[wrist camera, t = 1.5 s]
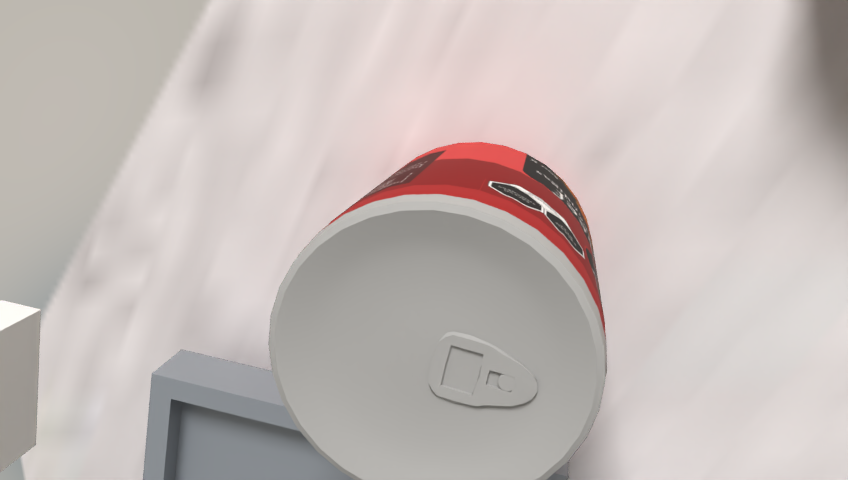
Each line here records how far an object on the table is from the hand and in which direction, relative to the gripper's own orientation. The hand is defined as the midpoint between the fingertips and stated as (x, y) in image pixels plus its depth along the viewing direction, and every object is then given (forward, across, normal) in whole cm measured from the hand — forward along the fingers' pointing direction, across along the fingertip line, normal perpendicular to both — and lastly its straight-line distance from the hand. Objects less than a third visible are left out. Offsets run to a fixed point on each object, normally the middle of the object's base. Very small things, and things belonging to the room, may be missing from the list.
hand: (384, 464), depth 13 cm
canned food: (+16, 0, 0) cm, 16 cm away
